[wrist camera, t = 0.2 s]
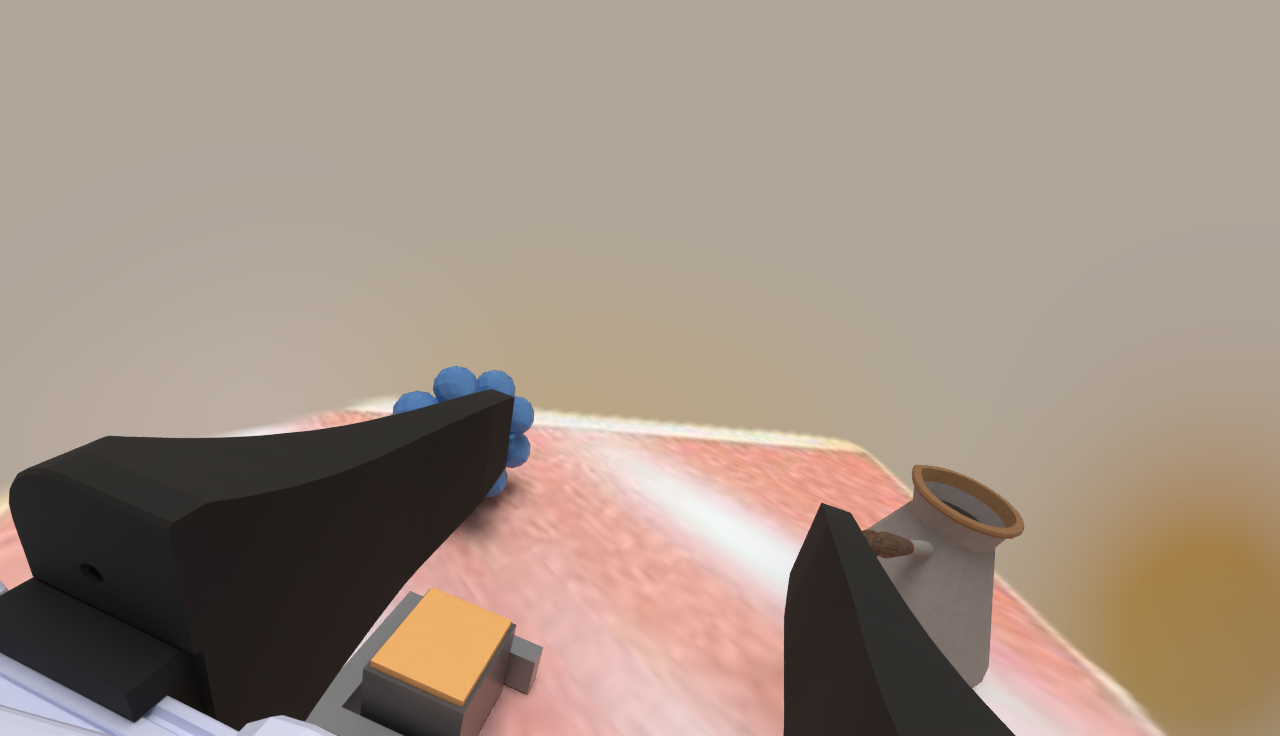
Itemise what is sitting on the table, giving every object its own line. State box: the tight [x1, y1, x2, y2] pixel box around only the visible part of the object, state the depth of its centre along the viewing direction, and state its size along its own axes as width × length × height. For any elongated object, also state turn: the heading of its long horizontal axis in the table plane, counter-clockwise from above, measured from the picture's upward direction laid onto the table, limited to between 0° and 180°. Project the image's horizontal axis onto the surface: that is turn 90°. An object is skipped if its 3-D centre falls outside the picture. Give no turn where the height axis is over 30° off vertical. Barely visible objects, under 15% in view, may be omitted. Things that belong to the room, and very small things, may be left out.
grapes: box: [393, 366, 534, 498], centre depth 37 cm, size 12×7×12 cm, turn 136°
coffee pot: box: [862, 465, 1024, 688], centre depth 33 cm, size 21×12×15 cm, turn 127°
